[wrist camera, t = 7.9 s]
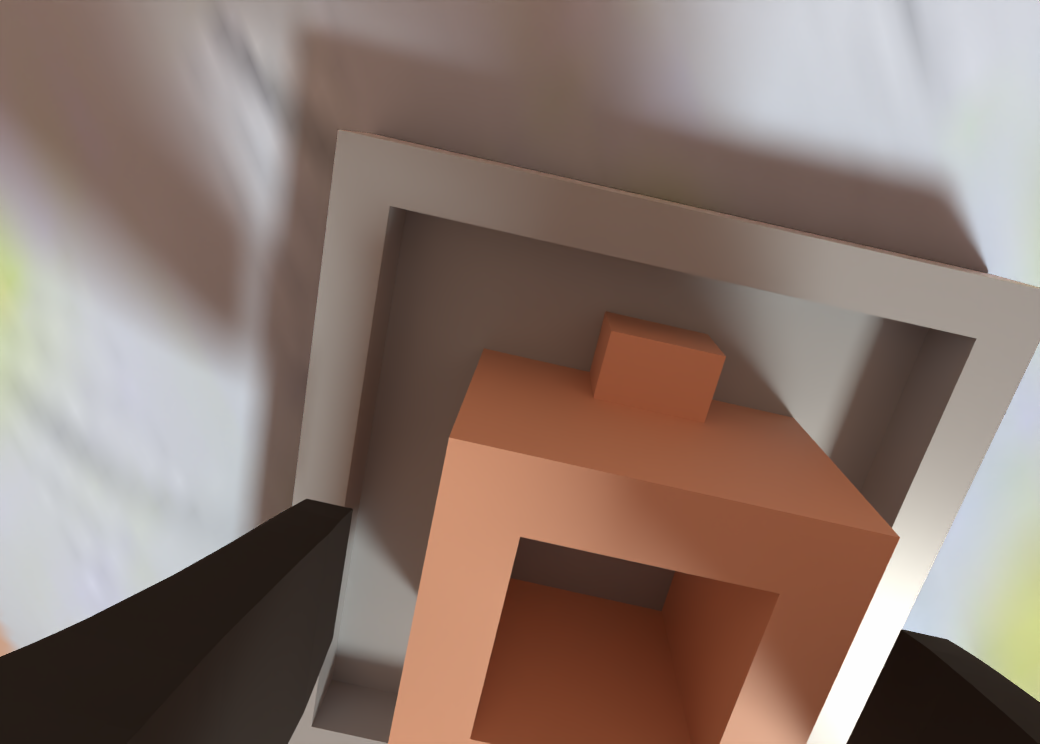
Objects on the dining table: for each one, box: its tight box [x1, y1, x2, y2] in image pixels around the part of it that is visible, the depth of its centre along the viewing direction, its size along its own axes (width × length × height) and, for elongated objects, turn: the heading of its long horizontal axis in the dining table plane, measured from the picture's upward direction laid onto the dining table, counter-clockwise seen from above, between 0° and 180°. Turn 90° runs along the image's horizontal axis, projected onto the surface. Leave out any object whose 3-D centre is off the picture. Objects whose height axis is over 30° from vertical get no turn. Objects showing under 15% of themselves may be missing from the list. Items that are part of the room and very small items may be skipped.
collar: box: [388, 311, 900, 744], centre depth 10 cm, size 6×5×4 cm
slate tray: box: [288, 129, 1040, 744], centre depth 11 cm, size 11×10×2 cm
